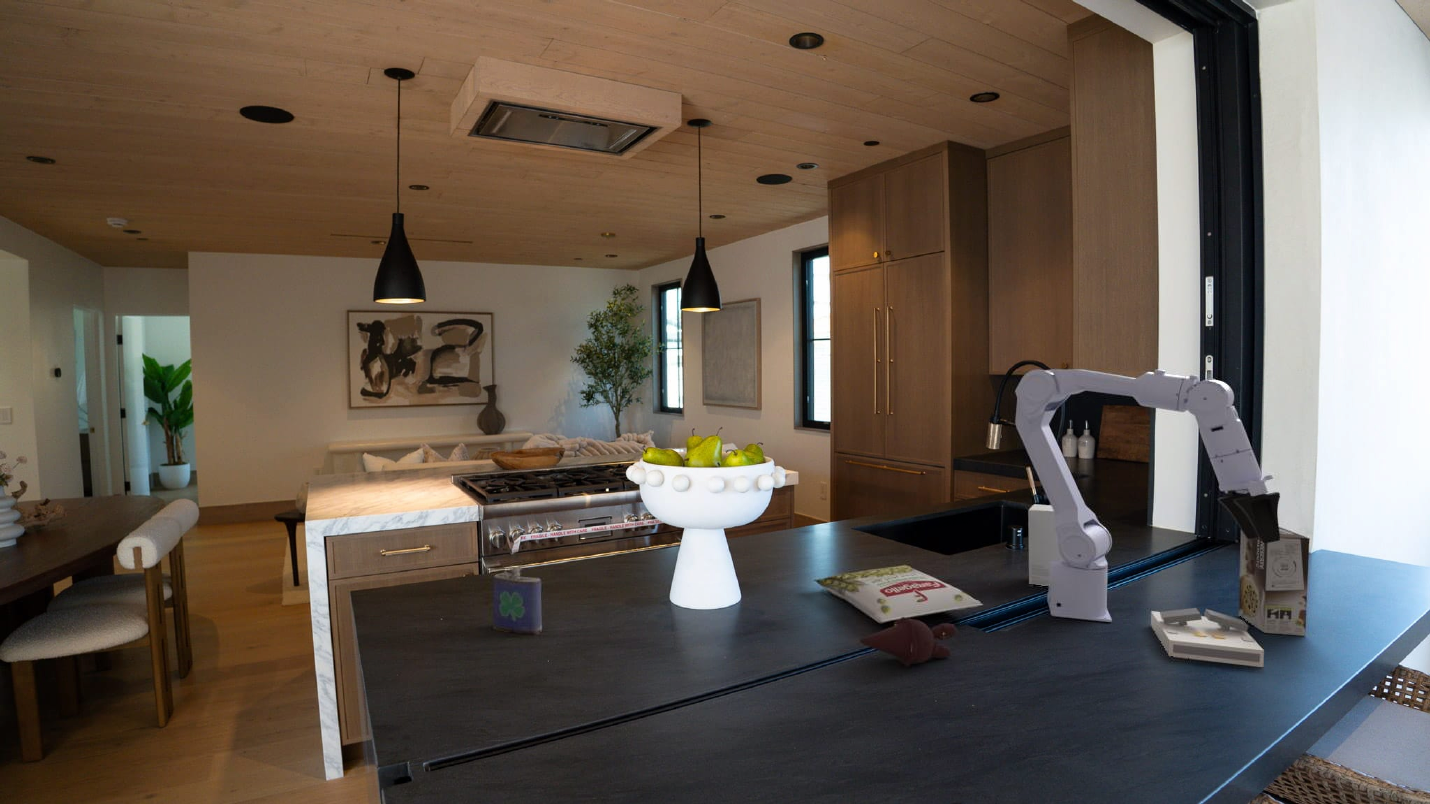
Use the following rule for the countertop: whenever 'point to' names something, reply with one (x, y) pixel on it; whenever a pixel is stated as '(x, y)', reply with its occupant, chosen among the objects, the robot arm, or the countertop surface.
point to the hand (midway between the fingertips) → (1263, 539)
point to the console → (1207, 642)
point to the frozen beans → (897, 593)
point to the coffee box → (1275, 583)
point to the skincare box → (1042, 543)
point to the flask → (517, 603)
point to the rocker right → (1226, 621)
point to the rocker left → (1180, 616)
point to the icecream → (912, 641)
